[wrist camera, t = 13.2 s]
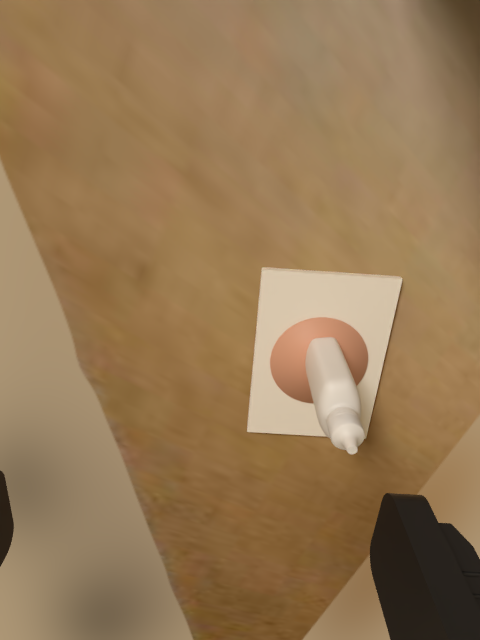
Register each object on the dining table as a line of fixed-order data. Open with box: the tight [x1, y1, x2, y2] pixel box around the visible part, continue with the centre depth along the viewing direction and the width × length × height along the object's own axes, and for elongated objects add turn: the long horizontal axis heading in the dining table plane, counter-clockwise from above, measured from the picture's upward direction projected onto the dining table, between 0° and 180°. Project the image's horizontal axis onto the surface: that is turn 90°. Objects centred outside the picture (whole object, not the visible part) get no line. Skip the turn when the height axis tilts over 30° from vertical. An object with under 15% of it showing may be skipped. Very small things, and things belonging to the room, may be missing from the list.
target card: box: [247, 267, 403, 439], centre depth 42 cm, size 17×12×1 cm
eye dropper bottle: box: [305, 337, 365, 454], centre depth 36 cm, size 4×6×12 cm
